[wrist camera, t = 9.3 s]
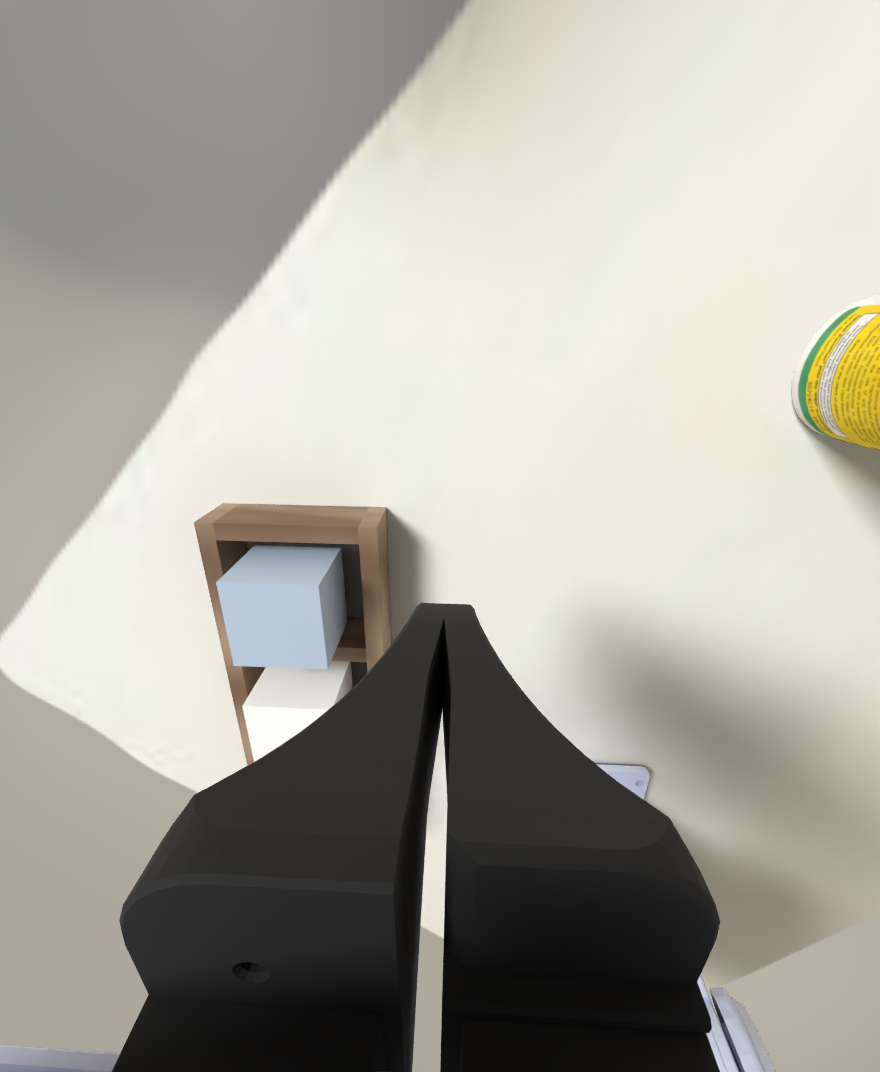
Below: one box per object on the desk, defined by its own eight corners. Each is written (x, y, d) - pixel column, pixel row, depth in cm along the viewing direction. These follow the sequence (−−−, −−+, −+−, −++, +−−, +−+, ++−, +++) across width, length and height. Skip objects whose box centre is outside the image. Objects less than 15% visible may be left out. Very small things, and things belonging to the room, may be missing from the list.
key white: (355, 717, 24) (339, 774, 21) (283, 714, 24) (255, 770, 21) (350, 658, 23) (332, 709, 19) (273, 655, 23) (242, 706, 20)
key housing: (397, 794, 28) (391, 833, 26) (277, 788, 29) (261, 826, 26) (386, 507, 21) (377, 527, 19) (222, 503, 21) (193, 522, 19)
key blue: (347, 621, 22) (327, 669, 19) (267, 619, 22) (233, 665, 19) (341, 547, 20) (318, 585, 17) (254, 545, 20) (216, 582, 17)
